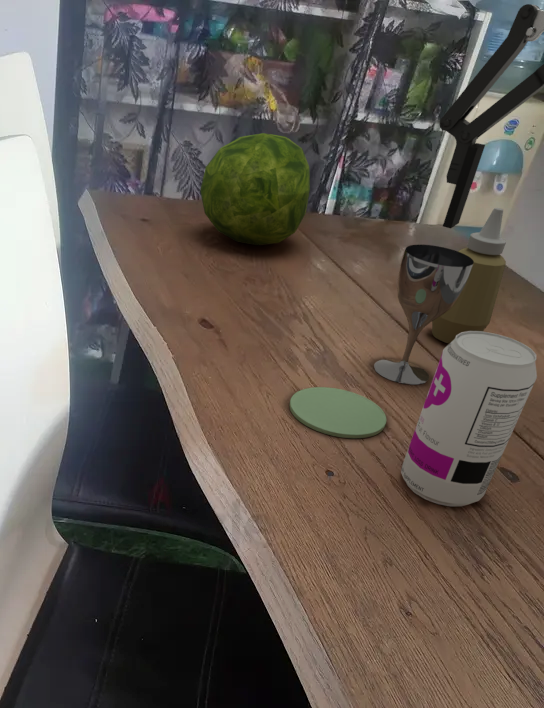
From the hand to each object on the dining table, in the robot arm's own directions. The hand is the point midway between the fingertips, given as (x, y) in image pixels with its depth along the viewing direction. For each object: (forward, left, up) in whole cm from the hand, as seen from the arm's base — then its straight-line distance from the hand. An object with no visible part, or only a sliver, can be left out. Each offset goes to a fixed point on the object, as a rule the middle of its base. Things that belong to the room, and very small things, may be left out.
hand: (528, 245), depth 63 cm
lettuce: (+38, -66, -23) cm, 80 cm away
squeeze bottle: (0, -38, -23) cm, 45 cm away
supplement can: (0, +4, -23) cm, 23 cm away
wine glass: (+6, -22, -23) cm, 32 cm away
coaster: (+12, -6, -23) cm, 27 cm away
